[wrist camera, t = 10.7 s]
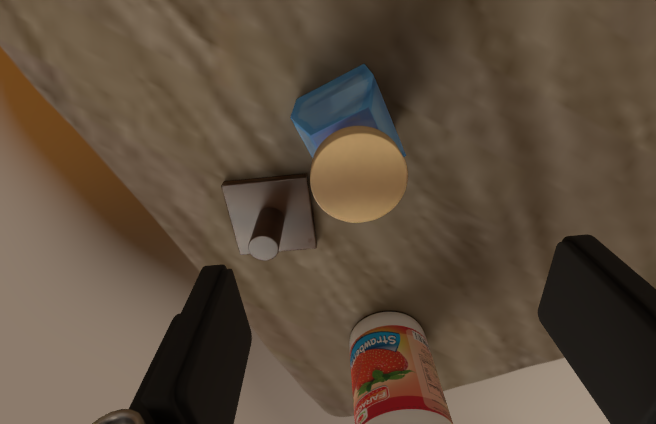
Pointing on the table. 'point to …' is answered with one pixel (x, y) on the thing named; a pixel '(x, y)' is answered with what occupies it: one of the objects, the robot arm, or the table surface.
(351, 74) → the perfume bottle
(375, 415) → the white yogurt drink bottle
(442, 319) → the table surface
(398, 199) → the chip
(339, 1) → the table surface
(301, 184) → the stand
